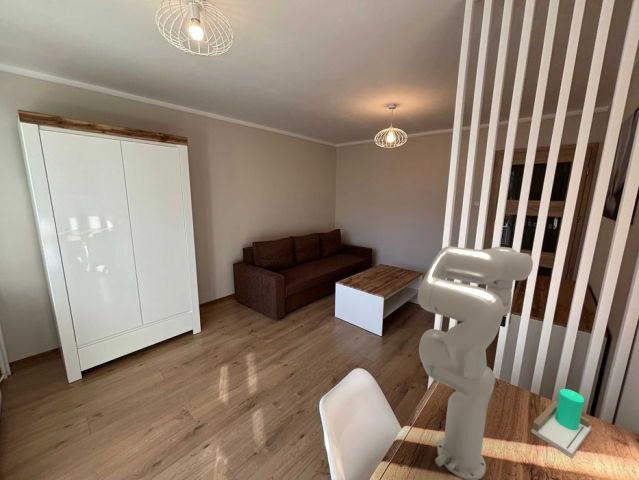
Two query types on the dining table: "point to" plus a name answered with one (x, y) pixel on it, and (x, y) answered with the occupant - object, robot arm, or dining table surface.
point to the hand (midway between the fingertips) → (493, 328)
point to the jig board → (560, 431)
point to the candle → (569, 409)
